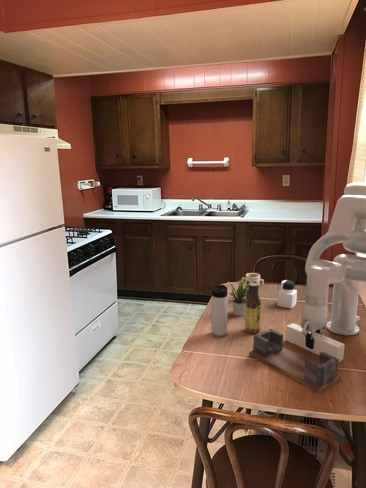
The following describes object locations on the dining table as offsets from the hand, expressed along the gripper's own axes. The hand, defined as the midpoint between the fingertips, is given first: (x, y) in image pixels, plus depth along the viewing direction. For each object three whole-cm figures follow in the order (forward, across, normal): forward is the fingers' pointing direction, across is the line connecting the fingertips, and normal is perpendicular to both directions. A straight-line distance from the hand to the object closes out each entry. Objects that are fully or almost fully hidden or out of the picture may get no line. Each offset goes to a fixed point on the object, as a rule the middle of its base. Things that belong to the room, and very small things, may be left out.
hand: (313, 345), depth 146 cm
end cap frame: (+2, +16, +3) cm, 16 cm away
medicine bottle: (+2, -27, -34) cm, 44 cm away
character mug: (+2, -19, -49) cm, 53 cm away
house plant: (+2, -2, -39) cm, 39 cm away
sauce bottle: (+2, +6, -25) cm, 26 cm away
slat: (+2, 0, 0) cm, 2 cm away
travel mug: (+2, +19, -31) cm, 36 cm away
